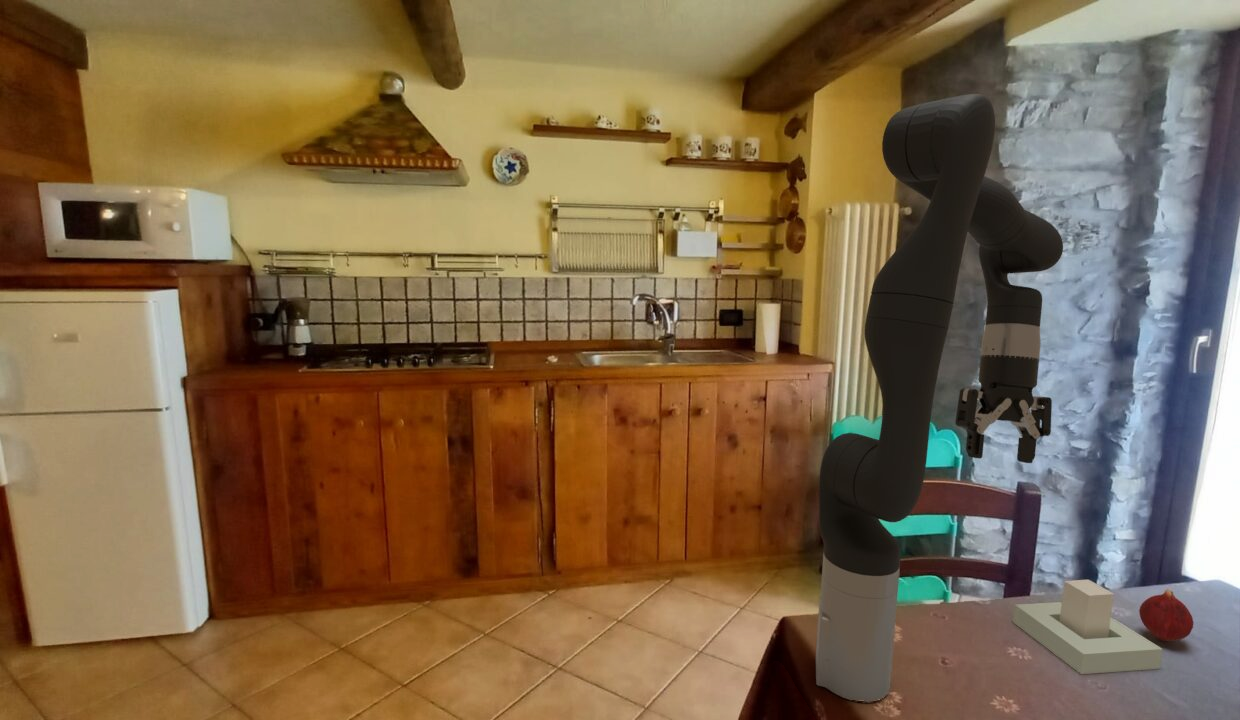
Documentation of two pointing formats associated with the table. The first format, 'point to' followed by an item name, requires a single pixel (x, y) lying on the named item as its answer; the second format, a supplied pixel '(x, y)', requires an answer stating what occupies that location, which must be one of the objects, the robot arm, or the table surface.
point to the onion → (1166, 617)
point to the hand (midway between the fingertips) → (999, 460)
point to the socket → (1087, 642)
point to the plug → (1086, 609)
